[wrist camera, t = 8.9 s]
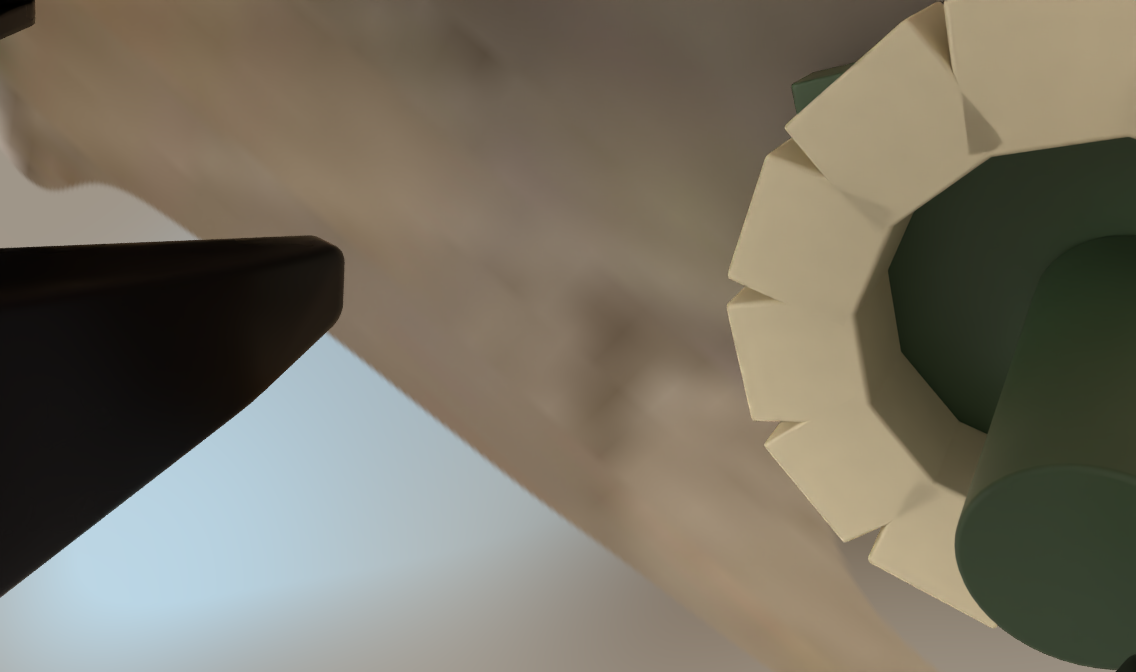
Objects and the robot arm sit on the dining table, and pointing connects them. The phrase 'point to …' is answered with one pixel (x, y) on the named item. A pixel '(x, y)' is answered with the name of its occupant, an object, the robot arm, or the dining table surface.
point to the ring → (870, 240)
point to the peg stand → (1035, 381)
